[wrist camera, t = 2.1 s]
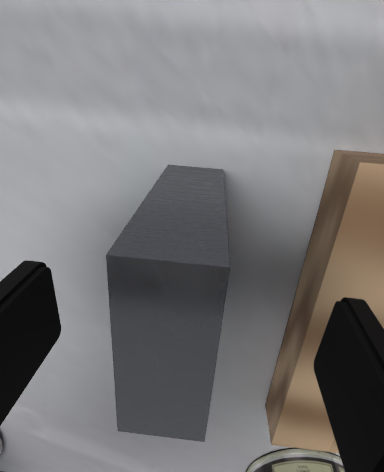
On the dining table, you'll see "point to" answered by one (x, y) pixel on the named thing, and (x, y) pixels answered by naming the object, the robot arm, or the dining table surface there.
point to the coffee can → (298, 462)
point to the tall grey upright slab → (169, 304)
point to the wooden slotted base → (329, 294)
